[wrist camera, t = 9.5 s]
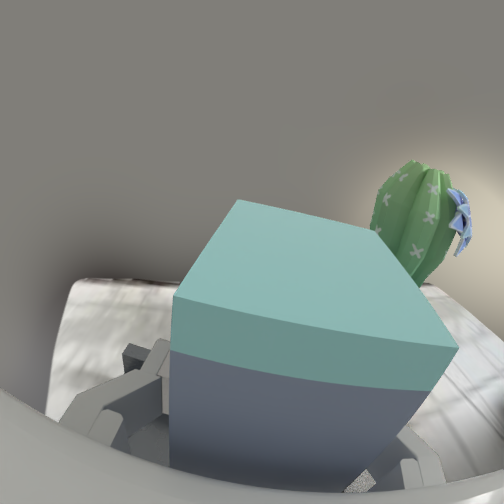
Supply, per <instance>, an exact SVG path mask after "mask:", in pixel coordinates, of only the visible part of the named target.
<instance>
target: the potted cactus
mask: <svg viewBox="0 0 504 504" xmlns="http://www.w3.org/2000/svg"><path fill="white" fill-rule="evenodd" d="M462 198H463V200H462ZM370 230H373V231H375V232H376V233H377V235H378V236H379V237H380V238H381V239H382V241H383V242H384V243H385V244H386V246H387V247H388V248H389V249H390V251H391V252H392V253H393V255H394V256H395V257H396V258H397V260H398V261H399V262H400V264H401V265H402V266H403V267H404V269H405V270H406V271H407V273H408V274H409V275H410V277H411V278H412V279H413V281H414V282H415V283H416V285H417V286H418V288H419V289H420V287H421V285H422V284H423V282H424V280H425V279H426V278H427V277H428V276H429V275H430V274H431V273H432V272H433V271H434V270H435V269H436V268H437V267H438V265H439V264H440V263H441V262H442V261H443V260H444V258H445V256H446V254H447V251H448V249H449V247H450V245H451V243H452V240H453V238H454V236H455V234H456V231H457V232H458V234H459V235H460V238H461V239H460V242H459V244H458V246H457V249H456V251H455V253H454V256H455V257H457V256H458V255H459V253H460V252H461V251H462V250H463V249H464V247H466V246H467V245H468V243H469V241H470V239H471V237H472V224H471V216H470V207H469V201H468V198H467V197H466V196H465V194H464V193H463V192H462V191H460V190H458V191H457V190H456V189H454V188H453V187H452V183H451V180H450V176H449V174H444V171H442V170H436V169H430V168H429V166H428V165H426V164H424V163H423V164H422V165H421V164H420V163H418V162H415V161H414V160H411V161H410V162H408V163H407V164H406V165H405V166H403V167H402V168H401V169H400V170H399V171H397V172H396V173H395V174H393V175H392V176H391V177H390V178H389V179H388V180H387V181H386V182H385V183H384V184H383V185H382V186H381V188H380V189H379V190H378V194H377V198H376V203H375V207H374V211H373V216H372V219H371V223H370Z"/></svg>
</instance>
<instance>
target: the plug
mask: <svg viewBox="0 0 504 504" xmlns="http://www.w3.org/2000/svg"><path fill="white" fill-rule="evenodd" d="M458 349H459V347H458V345H457V343H456V342H455V340H454V339H453V337H452V336H451V334H450V333H449V331H448V329H447V328H446V326H445V325H444V323H443V322H442V320H441V319H440V317H439V316H438V315H437V313H436V312H435V310H434V309H433V307H432V306H431V304H430V303H429V302H428V300H427V299H426V297H425V296H424V295H423V293H422V292H421V290H420V289H419V288H418V286H417V285H416V283H415V282H414V281H413V279H412V278H411V277H410V275H409V274H408V273H407V271H406V270H405V269H404V267H403V266H402V265H401V264H400V262H399V261H398V260H397V258H396V257H395V256H394V255H393V253H392V252H391V251H390V249H389V248H388V247H387V246H386V244H385V243H384V242H383V241H382V239H381V238H380V237H379V236H378V235H377V233H376V232H375V231H373V230H369V229H365V228H361V227H357V226H353V225H349V224H345V223H341V222H337V221H333V220H329V219H324V218H320V217H316V216H311V215H307V214H303V213H299V212H294V211H290V210H285V209H280V208H276V207H272V206H267V205H262V204H258V203H253V202H248V201H243V200H237V202H236V203H235V204H234V206H233V207H232V209H231V210H230V212H229V213H228V215H227V216H226V217H225V219H224V220H223V222H222V223H221V225H220V226H219V228H218V229H217V231H216V232H215V233H214V235H213V236H212V238H211V239H210V241H209V242H208V244H207V245H206V247H205V248H204V250H203V251H202V253H201V254H200V256H199V257H198V259H197V260H196V262H195V263H194V265H193V266H192V268H191V269H190V271H189V272H188V274H187V275H186V277H185V278H184V280H183V281H182V283H181V284H180V286H179V287H178V289H177V291H176V292H175V294H174V295H173V306H172V322H171V342H170V369H169V456H170V468H173V469H176V470H180V471H183V472H187V473H191V474H195V475H199V476H203V477H208V478H212V479H217V480H222V481H227V482H232V483H238V484H244V485H250V486H256V487H264V488H272V489H281V490H291V491H305V492H326V493H341V492H342V491H343V490H344V489H345V488H347V487H348V486H349V485H350V484H351V483H352V482H353V481H354V480H355V479H356V478H357V477H358V476H359V475H360V474H361V473H362V472H363V471H364V470H365V469H366V468H367V467H368V466H369V465H370V464H371V463H372V462H373V461H374V460H375V459H376V458H377V457H378V456H379V455H380V454H381V452H382V451H383V450H384V449H385V448H386V447H387V446H388V445H389V444H390V442H391V441H392V440H393V439H394V438H395V437H396V436H397V434H398V433H399V432H400V431H401V430H402V428H403V427H404V426H405V425H406V424H407V422H408V421H409V420H410V419H411V417H412V416H413V415H414V413H415V412H416V411H417V410H418V408H419V407H420V406H421V404H422V403H423V402H424V400H425V399H426V398H427V396H428V395H429V393H430V392H431V391H432V389H433V388H434V386H435V385H436V383H437V382H438V380H439V379H440V378H441V376H442V375H443V373H444V371H445V370H446V368H447V367H448V365H449V364H450V362H451V361H452V359H453V357H454V356H455V354H456V352H457V351H458Z"/></svg>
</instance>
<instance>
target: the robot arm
mask: <svg viewBox="0 0 504 504" xmlns="http://www.w3.org/2000/svg"><path fill="white" fill-rule="evenodd" d="M169 369H170V341H167V340H164V339H158V340H157V341H156V343H155V345H154V346H153V348H152V350H151V351H150V353H149V355H148V357H147V359H146V360H145V362H144V364H143V366H142V367H141V369H140V370H138V369H134V370H132V371H130V372H128V373H126V374H123V375H121V376H119V377H117V378H114V379H112V380H110V381H108V382H105V383H103V384H101V385H99V386H96V387H94V388H92V389H89V390H87V391H85V392H82V393H80V394H77V396H76V397H75V398H74V400H73V401H72V403H71V404H70V406H69V407H68V409H67V410H66V412H65V413H64V415H63V416H62V418H61V419H60V421H59V422H56V421H54V420H52V419H51V418H49V417H47V416H45V415H43V414H42V413H40V412H38V411H36V410H35V409H33V408H31V407H29V406H28V405H26V404H24V403H23V402H22V401H20V400H18V399H16V398H15V397H14V396H12V395H10V394H9V393H8V392H6V391H5V390H3V389H2V388H0V504H504V469H501V470H498V471H494V472H491V473H487V474H484V475H480V476H476V477H472V478H468V479H464V480H459V481H455V482H450V483H446V480H445V476H444V472H443V469H442V465H441V462H440V458H439V455H438V454H437V453H436V452H435V451H433V450H432V449H431V448H430V447H429V446H428V445H427V444H426V443H425V442H424V441H423V440H422V439H421V438H420V437H419V436H418V435H417V434H416V433H415V432H414V431H413V430H412V429H410V428H409V427H408V426H407V425H405V426H404V427H403V428H402V430H401V431H400V432H399V433H398V434H397V436H396V437H395V438H394V439H393V440H392V441H391V442H390V444H389V445H388V446H387V447H386V448H385V449H384V450H383V451H382V452H381V454H380V455H379V456H378V457H377V458H376V459H375V460H374V461H373V462H372V463H371V464H370V465H369V466H368V467H367V468H366V469H367V470H368V472H369V473H370V474H371V476H372V477H373V479H374V480H375V482H376V484H375V485H374V486H373V487H372V488H370V489H369V490H368V491H367V492H359V493H326V492H305V491H291V490H281V489H272V488H264V487H256V486H250V485H244V484H238V483H232V482H227V481H222V480H217V479H212V478H208V477H203V476H199V475H195V474H191V473H187V472H183V471H180V470H176V469H173V468H169V467H166V466H163V465H159V464H156V463H153V462H150V461H147V460H144V459H141V458H138V457H136V456H133V455H131V451H130V447H129V443H128V437H129V436H131V435H132V434H134V433H135V432H137V431H138V430H140V429H141V428H143V427H144V426H146V425H147V424H149V423H150V422H151V421H153V420H154V419H156V418H157V417H159V416H160V415H162V413H164V414H168V415H169Z"/></svg>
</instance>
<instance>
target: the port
mask: <svg viewBox="0 0 504 504" xmlns="http://www.w3.org/2000/svg"><path fill="white" fill-rule="evenodd" d="M150 351H151V350H149V349H146V348H143V347H140V346H136V345H133V344H130V343H129V344H128V346H127V347H126V349H125V350H124V352H123V353H122V356H123V365H124V372H125V373H124V374H126V373H128V372H130V371H132V370H134V369H138V370H140V369H141V367H142V366H143V364H144V362H145V360H146V359H147V357H148V355H149V353H150ZM128 443H129V447H130V451H131V455H133V456H136V457H138V458H141V459H144V460H147V461H150V462H153V463H156V464H159V465H163V466H166V467H169V468H170V456H169V415H168V414H164V413H162V415H160V416H159V417H157V418H156V419H154V420H153V421H151V422H150V423H149V424H147V425H146V426H144V427H143V428H141V429H140V430H138V431H137V432H135V433H134V434H132V435H131V436H129V437H128Z"/></svg>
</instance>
